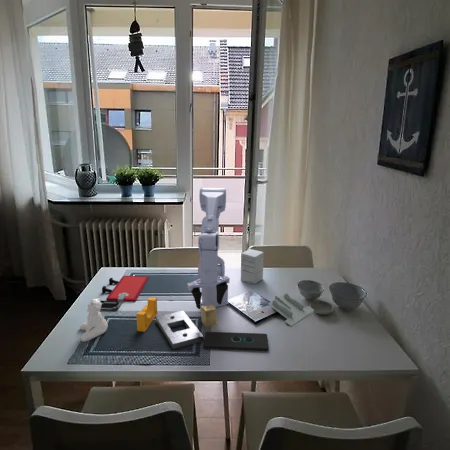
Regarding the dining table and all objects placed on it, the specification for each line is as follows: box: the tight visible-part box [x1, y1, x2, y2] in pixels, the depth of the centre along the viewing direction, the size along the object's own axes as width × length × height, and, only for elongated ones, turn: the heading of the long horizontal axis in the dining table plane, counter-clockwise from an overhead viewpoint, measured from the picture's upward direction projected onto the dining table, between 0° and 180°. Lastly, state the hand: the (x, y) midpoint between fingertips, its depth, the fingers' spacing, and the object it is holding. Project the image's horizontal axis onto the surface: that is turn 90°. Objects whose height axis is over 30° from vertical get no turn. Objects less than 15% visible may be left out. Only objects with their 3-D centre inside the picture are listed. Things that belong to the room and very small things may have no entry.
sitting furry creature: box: [79, 297, 108, 343], centre depth 120 cm, size 10×9×12 cm
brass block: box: [200, 304, 218, 328], centre depth 127 cm, size 4×4×6 cm
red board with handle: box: [100, 275, 150, 311], centre depth 149 cm, size 30×3×15 cm
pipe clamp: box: [135, 296, 158, 333], centre depth 128 cm, size 12×4×6 cm, turn 170°
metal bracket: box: [267, 293, 315, 327], centre depth 135 cm, size 14×6×15 cm
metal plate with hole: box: [155, 310, 204, 350], centre depth 123 cm, size 10×18×2 cm, turn 27°
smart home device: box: [202, 331, 270, 352], centre depth 117 cm, size 8×2×20 cm
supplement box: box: [240, 248, 265, 285], centre depth 162 cm, size 7×7×13 cm
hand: (208, 305), depth 126 cm, fingers open, 7 cm apart
